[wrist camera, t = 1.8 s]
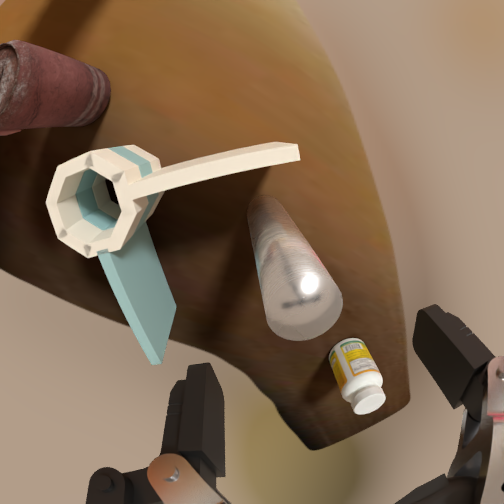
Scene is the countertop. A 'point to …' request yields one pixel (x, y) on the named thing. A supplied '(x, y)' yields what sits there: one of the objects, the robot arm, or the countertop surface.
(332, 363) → the supplement bottle
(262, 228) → the hinge pin
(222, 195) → the countertop surface
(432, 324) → the robot arm
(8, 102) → the can
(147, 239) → the leaf
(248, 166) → the white hinge leaf
